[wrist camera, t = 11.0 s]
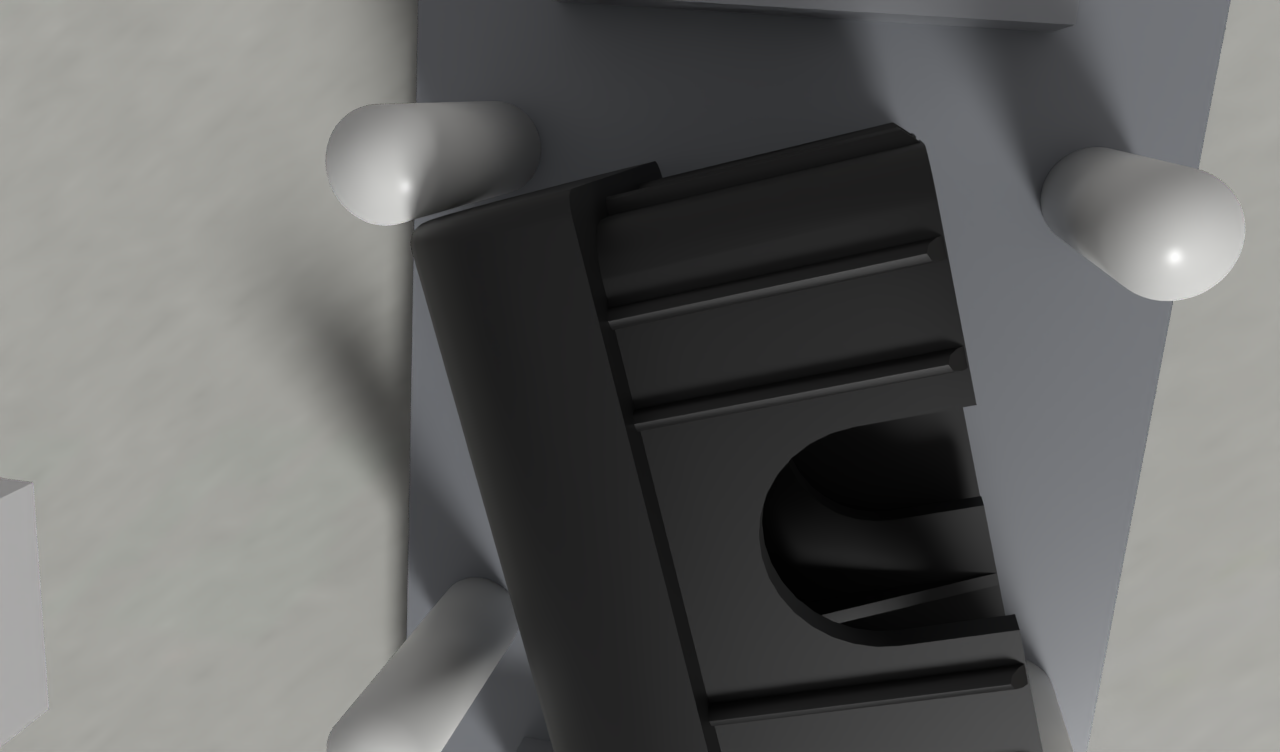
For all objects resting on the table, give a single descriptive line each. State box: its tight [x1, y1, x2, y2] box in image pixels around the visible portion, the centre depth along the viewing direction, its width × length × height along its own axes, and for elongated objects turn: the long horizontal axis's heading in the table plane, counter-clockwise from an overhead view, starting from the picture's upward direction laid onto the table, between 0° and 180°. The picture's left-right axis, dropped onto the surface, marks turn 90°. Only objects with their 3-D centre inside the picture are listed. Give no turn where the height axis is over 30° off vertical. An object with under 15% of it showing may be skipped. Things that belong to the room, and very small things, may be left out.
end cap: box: [411, 122, 1043, 752], centre depth 17 cm, size 10×7×7 cm
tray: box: [326, 0, 1245, 752], centre depth 18 cm, size 13×16×6 cm
